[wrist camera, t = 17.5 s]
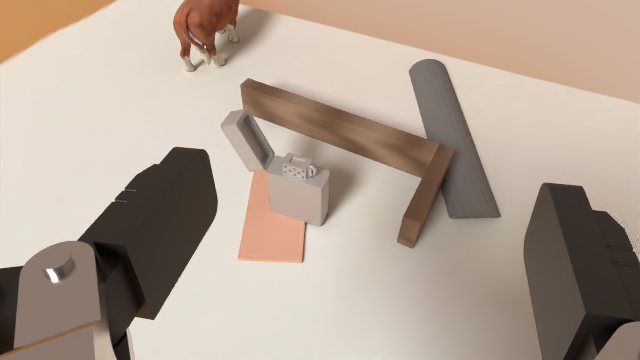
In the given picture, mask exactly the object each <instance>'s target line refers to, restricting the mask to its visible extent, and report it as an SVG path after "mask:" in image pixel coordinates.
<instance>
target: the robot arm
mask: <svg viewBox="0 0 640 360" xmlns="http://www.w3.org/2000/svg"><path fill="white" fill-rule="evenodd" d="M217 205H218V199H217V193H216V188H215V183H214V179H213V174H212V169H211V164H210V159H209V156H208V153H207V152H206V151H205V150H204V149H194V148H183V147H174V148H173V149H172V150H171V151H170V152H169V153H168V154H167V155H166V157H165V158H164V159H163V160H162V161H161V162H160V164H154V165H152V166H150V167H149V168H147V169H145V170H144V171H142V172H141V173H139V174H137V175H136V176H135V177H134V178H133V179H132V181H131V182H130V183H129V184H128V185H127V186H126V187H125V190H124V191H122V192H121V193H120V194H119V195H118V196H117V197H116V198H115V202H112V203H111V204H110V205H109V206H108V207H107V208H106V209H105V210H104V212H103V213H102V214H101V215H100V216H99V217H98V218H97V219H96V220H95V221H94V223H93V224H92V225H91V226H90V227H89V228H88V229H87V230H86V231H85V233H84V234H83V235H82V236H81V237H80V238H79V239H78V240H77V241H66V242H61V243H57V244H54V245H51V246H49V247H47V248H45V249H43V250H41V251H40V252H38V253H37V254H35V255H34V256H33V257H32V258H30V259H29V260H28V261H27V263H26V264H25V265H24V266H18V267H9V268H1V269H0V360H135V356H134V350H133V343H132V337H131V333H130V330H129V328H128V327H129V325H130V324H131V322H132V321H133V319H134V318H135V317H139V318H145V319H151V320H154V319H155V317H156V316H157V314H158V312H159V311H160V309H161V307H162V306H163V304H164V302H165V301H166V299H167V297H168V296H169V294H170V292H171V291H172V289H173V287H174V286H175V284H176V282H177V281H178V279H179V277H180V276H181V274H182V272H183V271H184V269H185V267H186V266H187V264H188V262H189V261H190V259H191V257H192V256H193V254H194V252H195V251H196V249H197V247H198V246H199V244H200V242H201V241H202V239H203V237H204V236H205V234H206V232H207V231H208V229H209V227H210V226H211V224H212V222H213V220H214V218H215V216H216V212H217ZM632 250H633V247H632V245H631V243H630V241H629V238H628V236H627V234H626V232H625V230H624V228H623V227H622V226H621V225H620V224H619V223H617V222H616V221H615V220H614V219H613V218H612V217H611V216H610V215H609V214H608V213H607V212H605V211H595V210H592V208H591V206H590V203H589V201H588V198H587V196H586V193H585V191H584V189H583V187H582V186H575V185H565V184H554V183H543V184H542V186H541V188H540V190H539V193H538V196H537V200H536V203H535V206H534V209H533V212H532V215H531V219H530V222H529V225H528V228H527V231H526V235H525V240H524V263H525V268H526V273H527V279H528V284H529V290H530V295H531V300H532V306H533V311H534V316H535V322H536V327H537V333H538V338H539V343H540V349H541V354H542V360H640V263H639V260H638V258H637V256H636V254H635V252H633V251H632Z"/></svg>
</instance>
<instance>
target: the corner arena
mask: <svg viewBox="0 0 640 360" xmlns="http://www.w3.org/2000/svg"><path fill="white" fill-rule="evenodd" d="M240 87H241V95H242V102H243V110H244V109H248V110H249V111H250V113H251V114H252V115H253V116H255V117H258V118H261V119H264V120H266V121H269V122H272V123H274V124H277V125H280V126H283V127H285V128H288V129H291V130H293V131H296V132H299V133H302V134H304V135H307V136H310V137H312V138H315V139H318V140H320V141H323V142H326V143H329V144H331V145H334V146H337V147H339V148H342V149H345V150H348V151H350V152H353V153H356V154H358V155H361V156H364V157H367V158H369V159H372V160H375V161H377V162H380V163H383V164H386V165H388V166H391V167H394V168H396V169H399V170H402V171H405V172H407V173H410V174H413V175H415V176H418V177H421V178H422V180H421V182H420V184H419V186H418V188H417V190H416V192H415V194H414V196H413V198H412V200H411V202H410V204H409V206H408V208H407V210H406V212H405V214H404V216H403V220H402V224H401V228H400V231H399V235H398V239H397V242H398V243H401V244H403V245H406V246H408V247H410V248H413V247H414V245H415V242H416V240H417V238H418V236H419V234H420V232H421V229H422V227H423V225H424V223H425V221H426V218H427V216H428V214H429V212H430V210H431V207H432V205H433V203H434V201H435V199H436V196H437V194H438V192H439V190H440V188H441V185H442V183H443V180H444V178H445V175H446V173H447V171H448V168H449V165H450V162H451V159H452V156H453V153H454V150H455V149H454V148H451V147H448V146H445V145H442V144H439V143H436V142H433V141H430V140H427V139H424V138H421V137H418V136H416V135H413V134H410V133H407V132H404V131H401V130H398V129H395V128H392V127H389V126H386V125H383V124H380V123H378V122H375V121H372V120H369V119H366V118H363V117H360V116H357V115H354V114H351V113H348V112H345V111H342V110H340V109H337V108H334V107H331V106H328V105H325V104H322V103H319V102H316V101H313V100H310V99H307V98H304V97H302V96H299V95H296V94H293V93H290V92H287V91H284V90H281V89H278V88H275V87H272V86H269V85H266V84H264V83H261V82H258V81H255V80H252V79H249V78H248V79H246V80H245V81H244V82H243V83H242V84H241V85H240Z"/></svg>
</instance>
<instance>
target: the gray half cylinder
mask: <svg viewBox="0 0 640 360" xmlns="http://www.w3.org/2000/svg"><path fill="white" fill-rule="evenodd" d="M409 74H410V78H411V81H412V85H413V88H414V92H415V96H416V99H417V103H418V106H419V110H420V114H421V117H422V121H423V124H424V128H425V132H426V135H427V139H428V140H430V141H433V142H436V143H439V144H442V145H445V146H448V147H451V148H454V149H455V150H454V153H453V156H452V159H451V162H450V165H449V168H448V171H447V173H446V175H445V178H444V180H443V183H442V185H441V189H442V193H443V196H444V200H445V204H446V207H447V211H448V214H449V218H495V217H501V215H500V213H499V210H498V207H497V205H496V202H495V199H494V196H493V194H492V191H491V188H490V186H489V183H488V180H487V178H486V175H485V172H484V169H483V167H482V164H481V161H480V159H479V156H478V153H477V151H476V148H475V145H474V142H473V140H472V137H471V134H470V132H469V129H468V126H467V124H466V121H465V118H464V115H463V113H462V110H461V107H460V105H459V102H458V99H457V97H456V94H455V91H454V89H453V86H452V83H451V80H450V78H449V75H448V72H447V70H446V68H445V66H444V64H442V63H441V62H440V61H437V60H435V59H425V60H421V61H419V62H417V63H415V64H414V65H413V66H412V67H411V68H410V70H409Z"/></svg>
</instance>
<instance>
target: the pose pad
mask: <svg viewBox="0 0 640 360" xmlns="http://www.w3.org/2000/svg"><path fill="white" fill-rule="evenodd" d="M304 228H305V222H303V221H300V220H297V219H293V218H290V217H287V216H284V215H280V214H277V213H274V212H271V210H270V204H269V194H268V184H267V173H266V170H263V171H254V174H253V180H252V185H251V190H250V196H249V201H248V206H247V212H246V217H245V223H244V228H243V233H242V239H241V244H240V249H239V255H238V260H254V261H276V262H298V263H302V254H303V241H304Z"/></svg>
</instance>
